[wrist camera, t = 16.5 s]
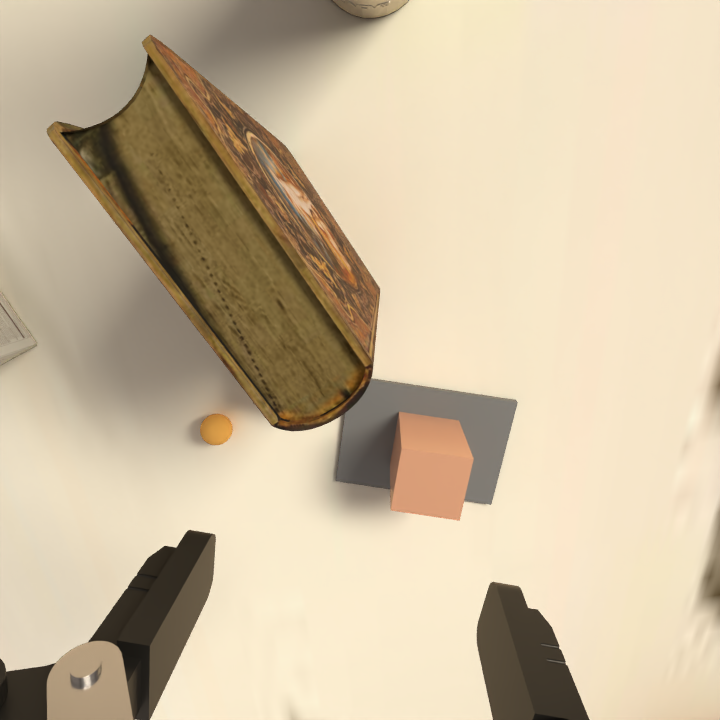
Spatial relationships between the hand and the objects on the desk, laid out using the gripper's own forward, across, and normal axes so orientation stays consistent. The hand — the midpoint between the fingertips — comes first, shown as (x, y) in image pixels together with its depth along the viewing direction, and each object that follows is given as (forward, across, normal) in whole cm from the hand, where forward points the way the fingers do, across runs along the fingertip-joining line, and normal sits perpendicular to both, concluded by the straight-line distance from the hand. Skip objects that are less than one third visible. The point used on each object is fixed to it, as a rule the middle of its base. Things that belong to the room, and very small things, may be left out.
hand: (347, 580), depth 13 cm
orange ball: (+31, +14, +13) cm, 37 cm away
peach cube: (+32, -7, +11) cm, 35 cm away
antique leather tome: (+33, +7, -7) cm, 34 cm away
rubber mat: (+32, -7, +11) cm, 35 cm away
